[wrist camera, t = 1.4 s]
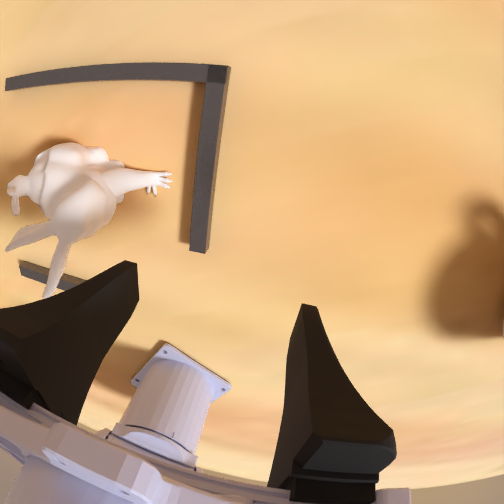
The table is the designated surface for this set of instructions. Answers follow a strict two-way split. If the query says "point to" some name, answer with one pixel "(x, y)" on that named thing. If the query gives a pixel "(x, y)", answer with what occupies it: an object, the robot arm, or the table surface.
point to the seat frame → (208, 136)
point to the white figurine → (74, 197)
